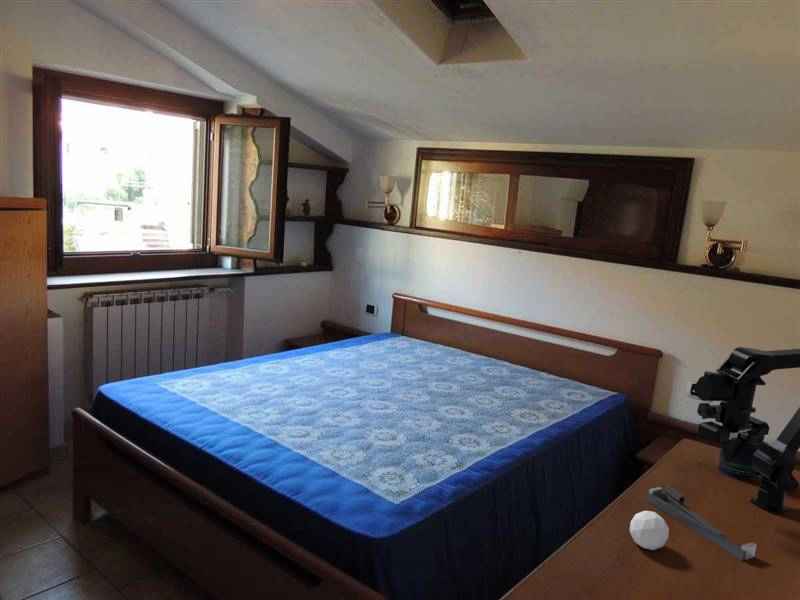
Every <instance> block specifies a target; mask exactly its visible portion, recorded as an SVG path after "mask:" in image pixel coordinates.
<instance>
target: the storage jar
mask: <svg viewBox="0 0 800 600" xmlns="http://www.w3.org/2000/svg"><path fill="white" fill-rule="evenodd" d="M747 433H748V435H747V436H750V437H752V440H750V441H749V442H748V443H747V444H746V445H745V446H744V447H743V448H742V449H741V450H740V451H739V453H738V454H737V455H736V456H735V457H734V458H733V459H732V461H731V462H726V461H724V457H723V451H722V448H720V450H719V455H718V458H717V459H718V461H717V463H718V464H717V466H716V469H717V471H718V472H719V473H720V472H721V474H722V475H723V476H725V477H728V476H729V477H728V478H730V477H732V478H731V479H734V478H735V479H734V480H737V479H742V480H752V481H754V480H756V477H757V476H755V473H754V468H753V465H752V459H753V457H754V455H753V453H755V452H756V451H757V450H758V448H759V446H760V444H761V443H763V442H765V436H766V435H763V436H761V435H759V434H758V431H757V430H755V429H754V430H748V431H747ZM753 479H754V480H753ZM742 480H741V481H742Z"/></svg>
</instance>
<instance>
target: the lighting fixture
mask: <svg viewBox="0 0 800 600" xmlns="http://www.w3.org/2000/svg"><path fill="white" fill-rule="evenodd" d="M661 499H662V500H664V501H665V502H667V503H669V504H670V505H672V506H673V507H675V508H677V509H678V510H680V511H682V512H683V513H685V514H686V515H688V516H690V517H691V518H693V519H695V520H696V521H698V522H700V523H701V524H703V525H704V526H706V527H708V528H709V529H711V530H713V531H714V532H716V533H717V534H719V535H721V536H722V537H724V538H725V536H726V534H725V533H723V532H721V530H719V529H718V528H716V527H715V526H714V525H712V523H710V522H709V521H707V520H706V519H705V518H704V517H702V516H701V515H699V514H698V513H697V512H695V511H694V510H692V509H691V508H690V507H689V506H687V505H686V504H684V503H685V502H686V500H685V495H683V494H682V493H681V492H679V490H678V491H677V489H676V488H674V487H673V486H672V485H665V488H664V490H663V492H662V497H661Z"/></svg>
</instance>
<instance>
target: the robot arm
mask: <svg viewBox="0 0 800 600" xmlns="http://www.w3.org/2000/svg"><path fill="white" fill-rule="evenodd" d="M796 368H797V369H798V368H799V369H800V348H792V349H791V348H790V349H778V350H761V349H756V348H754V347H753V348H752V347H742V346H739V347H736V348H734V349H733V351H732V352H731V353H730V354H729V355H728V357H727V358H726V359H725V360H724V361H723V362H722V364H720V365H719V366H718V367H717V369H716V372H713V371H709V370H708V371H704V374H703V376H702V375H701V376H700V377H699V378H698V380H697V381H696V383H695V392H696V395H697V397H698V398H699V400H701V401H705V402H700V403H698V406H697V410H696V412H697V415H698V416H699V417H701V419H702V420H706V419H710V420H711V419H715V420H714V421H715V422H714V421H705V422H704V421H703V422H701V423H699V424H698V425H697V429H696V433H697V434H698V435H700V436H703V437H704V438H706V439H708V440H711V441H713V442H715V443H720V444H721V449H722V451H723V457H724V461H726V462H731V461H732V459H733V458H734V457H735V456H736V455H737V454H738V453H739V451H740V450H741V449H742V448H743V447H744V446H745V445H746V444H747V443H748V442H749V441H750V440H752V437H750V436H747V435H748V433H747V431H748V430H754V429H755V430H757V431H758V434H759V435H761V436H763V435H764V436H767V435H769V431H770V429H771V428H770V426H769V424H768V422H766V421H764V420H761V419H759V418H756V417H754V416H751V414H754V413H756V410H757V408H756V407H753V404H754V400H755V395H756V390H757V389H756V388H757V386H766V382H765V380H763V379H762V377H763V376H766V375H768V374H770V373H771V372H772V371H778V370H786V369H787V370H788V369H796ZM736 371H737V372H736ZM706 401H707V402H706ZM710 402H719V404H710ZM799 449H800V406H799V407H798V409H797V410H796V412H795V413H794V414H793V415H792V417H791V419H790V420H789V421H788V423H787V424H786V426H785V427H784V428H783V430H782V431H781V432H780V434H779V435H778V437H777V438H776V440H774V441H771V442H770V443H766V442H765V441H763V443H761V444H760V446H759V448H758V450H757V451H756V452H755V453H753V455H754V457H753V459H752V465H753V468H754V473H755V476H756V477H757V478H759V479H761V481H760V483H759V488H758V490H757V491H758V493H757V497H754V498H751V499H750V501H749V502H751V503H753V504H755V505H757V506H759V507H760V508H762V509H764V510H766V511H768V512H769V513H772V514H778V513H782V512H786V511H790V510H791V507H789V506H787V505H785V502H786V498H787V497H786V496H787V494H790V493H792V492H797V489H798V487H799V485H800V483H799V481H798V480H797V478H795V476H794V475H793V472H794V470H795V467H796V461H797V460H796V458H797V457H796V456H797V455H796V454H797V452H798V450H799Z"/></svg>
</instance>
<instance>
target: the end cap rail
mask: <svg viewBox="0 0 800 600" xmlns="http://www.w3.org/2000/svg"><path fill="white" fill-rule="evenodd" d="M648 491H649V492H647V493H646V494H647V495H646V499H645V501H646V502H648V503H650V504H651V505H652V506H654V507H656V508H658V509H659V510H661V511H662V512H664V513H666V515H669V516H670V517H672V518H673V519H674V520H677V521H678V522H680V523H681V524H683V525H684V526H686V527H687V528H689V529H690V530H692V531H694V532H695V533H697V534H699V535H700V536H701V537H703V538H705V539H707V540H708V541H710V542H711V543H713V544H715V546H717V547H719V548H721V549H722V550H724V551H726V552H727V553H729V554H730V555H732V556H733V557H735V558H737V559H738V560H740V561H746V560H750V559H752V558H755V556H756V552H757V551H756V550H757V544H756V543H755V542H753V541H751V542H748V543H744V544H741V547H740V546H738V545H737V544H735V543H734V542H732V541H731V540H729V539H727V538H725V536H724V537H722V536H721V535H719V534H717V533H716V532H714V531H713V530H711V529H709V528H708V527H706V526H704V525H703V524H701V523H700V522H698V521H696V520H695V519H693V518H691V517H690V516H688V515H686V514H685V513H683V512H682V511H680V510H678V509H677V508H675V507H673V506H672V505H670V504H669V503H667V502H665V501H664V500H662V499H661V497H662V493H663V492H664V490H663V488H662V487H660V486H657V487H652V488H649V490H648Z"/></svg>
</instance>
